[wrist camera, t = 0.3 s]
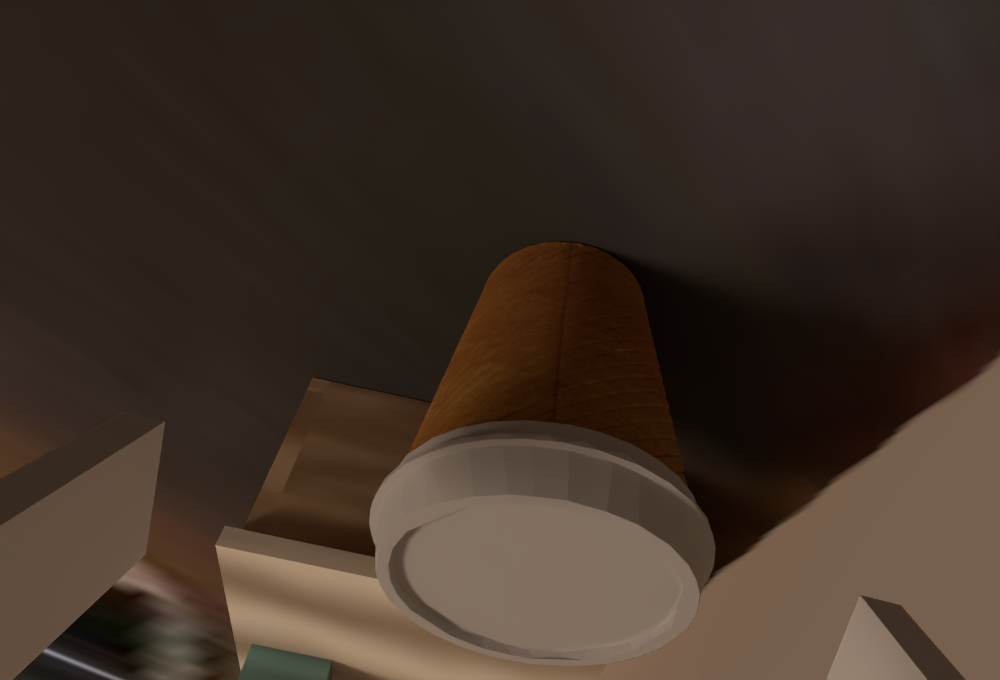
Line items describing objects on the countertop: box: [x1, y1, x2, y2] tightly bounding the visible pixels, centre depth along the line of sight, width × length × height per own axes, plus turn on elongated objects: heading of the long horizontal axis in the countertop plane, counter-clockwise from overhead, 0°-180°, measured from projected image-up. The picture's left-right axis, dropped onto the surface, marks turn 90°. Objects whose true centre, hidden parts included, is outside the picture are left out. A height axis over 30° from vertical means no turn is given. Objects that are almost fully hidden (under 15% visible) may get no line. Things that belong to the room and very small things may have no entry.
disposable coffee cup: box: [369, 242, 715, 666], centre depth 23 cm, size 10×10×12 cm
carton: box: [243, 378, 431, 557], centre depth 35 cm, size 18×14×8 cm
